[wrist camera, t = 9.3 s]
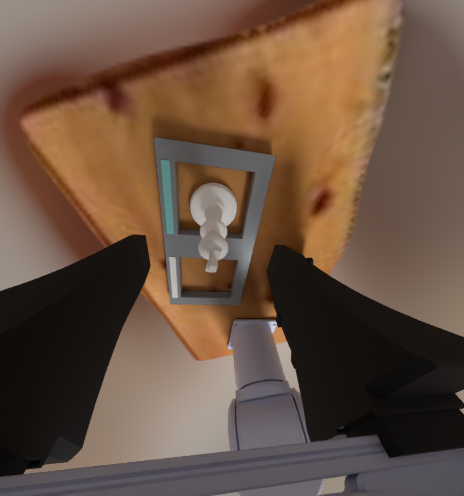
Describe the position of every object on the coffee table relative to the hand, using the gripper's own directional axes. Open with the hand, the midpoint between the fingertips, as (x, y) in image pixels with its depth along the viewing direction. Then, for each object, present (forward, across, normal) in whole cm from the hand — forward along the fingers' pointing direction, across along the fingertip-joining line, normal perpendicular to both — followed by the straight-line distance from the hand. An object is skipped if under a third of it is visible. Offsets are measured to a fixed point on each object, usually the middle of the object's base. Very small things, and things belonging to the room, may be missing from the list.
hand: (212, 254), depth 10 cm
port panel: (+9, 0, +5) cm, 11 cm away
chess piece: (+10, 0, +1) cm, 10 cm away
